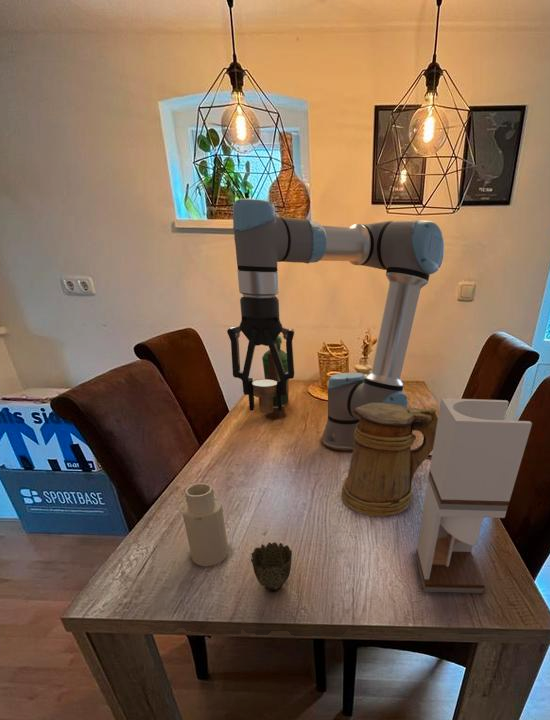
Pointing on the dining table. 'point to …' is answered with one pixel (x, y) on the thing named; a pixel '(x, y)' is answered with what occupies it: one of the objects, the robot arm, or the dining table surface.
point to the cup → (272, 565)
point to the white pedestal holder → (466, 488)
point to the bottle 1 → (204, 525)
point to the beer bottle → (277, 414)
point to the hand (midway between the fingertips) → (266, 408)
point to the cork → (265, 394)
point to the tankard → (386, 457)
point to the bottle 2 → (284, 362)
